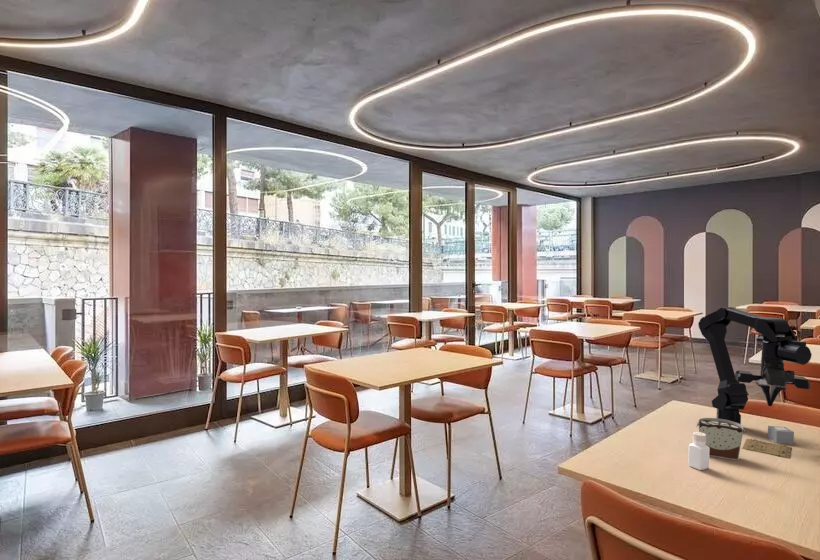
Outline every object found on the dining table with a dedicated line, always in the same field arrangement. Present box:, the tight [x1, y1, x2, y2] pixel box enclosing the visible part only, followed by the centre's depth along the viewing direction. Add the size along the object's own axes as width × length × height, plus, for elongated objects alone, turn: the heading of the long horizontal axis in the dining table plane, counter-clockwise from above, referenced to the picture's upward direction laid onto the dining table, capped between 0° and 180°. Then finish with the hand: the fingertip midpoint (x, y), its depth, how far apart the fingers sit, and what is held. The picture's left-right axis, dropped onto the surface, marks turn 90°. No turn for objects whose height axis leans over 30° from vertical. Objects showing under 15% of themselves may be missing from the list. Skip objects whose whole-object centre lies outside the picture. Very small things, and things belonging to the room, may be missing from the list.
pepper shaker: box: [687, 431, 710, 471], centre depth 139 cm, size 4×4×10 cm
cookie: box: [741, 438, 793, 460], centre depth 155 cm, size 12×12×1 cm
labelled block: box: [767, 425, 795, 445], centre depth 162 cm, size 5×5×4 cm
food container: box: [695, 417, 746, 461], centre depth 150 cm, size 12×6×10 cm, turn 65°
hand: (769, 405), depth 160 cm, fingers closed
